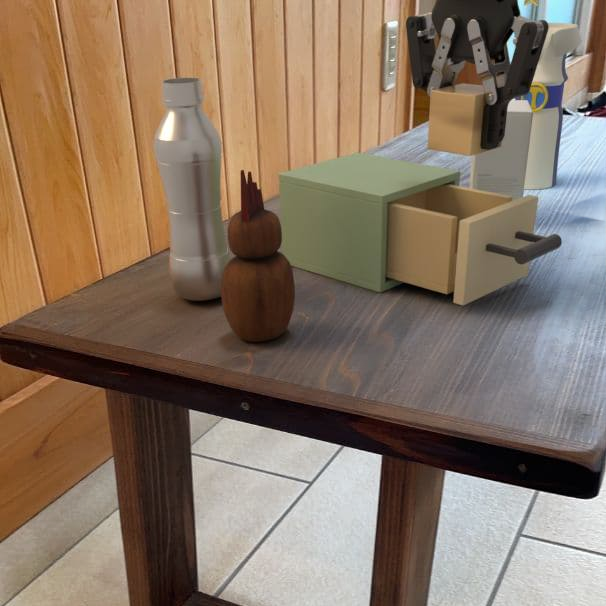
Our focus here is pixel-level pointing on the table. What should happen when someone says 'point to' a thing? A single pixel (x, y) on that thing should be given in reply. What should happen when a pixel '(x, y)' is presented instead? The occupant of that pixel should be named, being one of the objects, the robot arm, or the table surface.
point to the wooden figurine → (256, 271)
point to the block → (457, 119)
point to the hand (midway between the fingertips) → (464, 143)
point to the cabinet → (348, 214)
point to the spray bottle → (548, 104)
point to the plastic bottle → (191, 190)
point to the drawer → (463, 240)
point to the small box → (506, 156)
